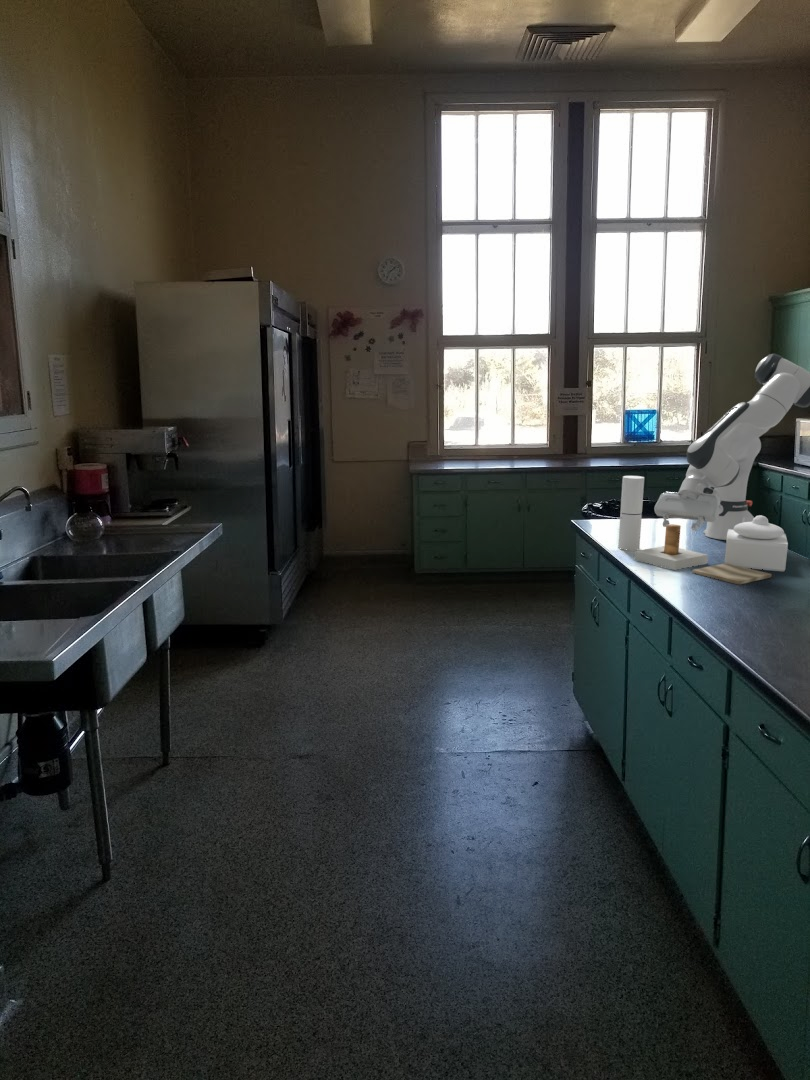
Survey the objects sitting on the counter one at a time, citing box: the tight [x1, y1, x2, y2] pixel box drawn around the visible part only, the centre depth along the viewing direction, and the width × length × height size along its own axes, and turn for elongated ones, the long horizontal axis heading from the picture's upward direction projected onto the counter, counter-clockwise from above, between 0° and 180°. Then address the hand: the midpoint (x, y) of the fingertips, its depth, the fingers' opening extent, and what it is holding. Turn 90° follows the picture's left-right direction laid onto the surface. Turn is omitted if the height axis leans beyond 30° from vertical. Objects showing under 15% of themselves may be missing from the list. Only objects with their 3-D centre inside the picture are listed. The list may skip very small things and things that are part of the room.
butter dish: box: [723, 514, 789, 572], centre depth 255 cm, size 18×18×16 cm
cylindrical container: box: [617, 475, 645, 551], centre depth 273 cm, size 7×7×25 cm
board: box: [692, 562, 772, 585], centre depth 240 cm, size 16×16×1 cm
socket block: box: [634, 545, 709, 571], centre depth 256 cm, size 16×16×3 cm
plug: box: [664, 524, 682, 556], centre depth 255 cm, size 4×4×12 cm
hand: (679, 527), depth 256 cm, fingers open, 8 cm apart
